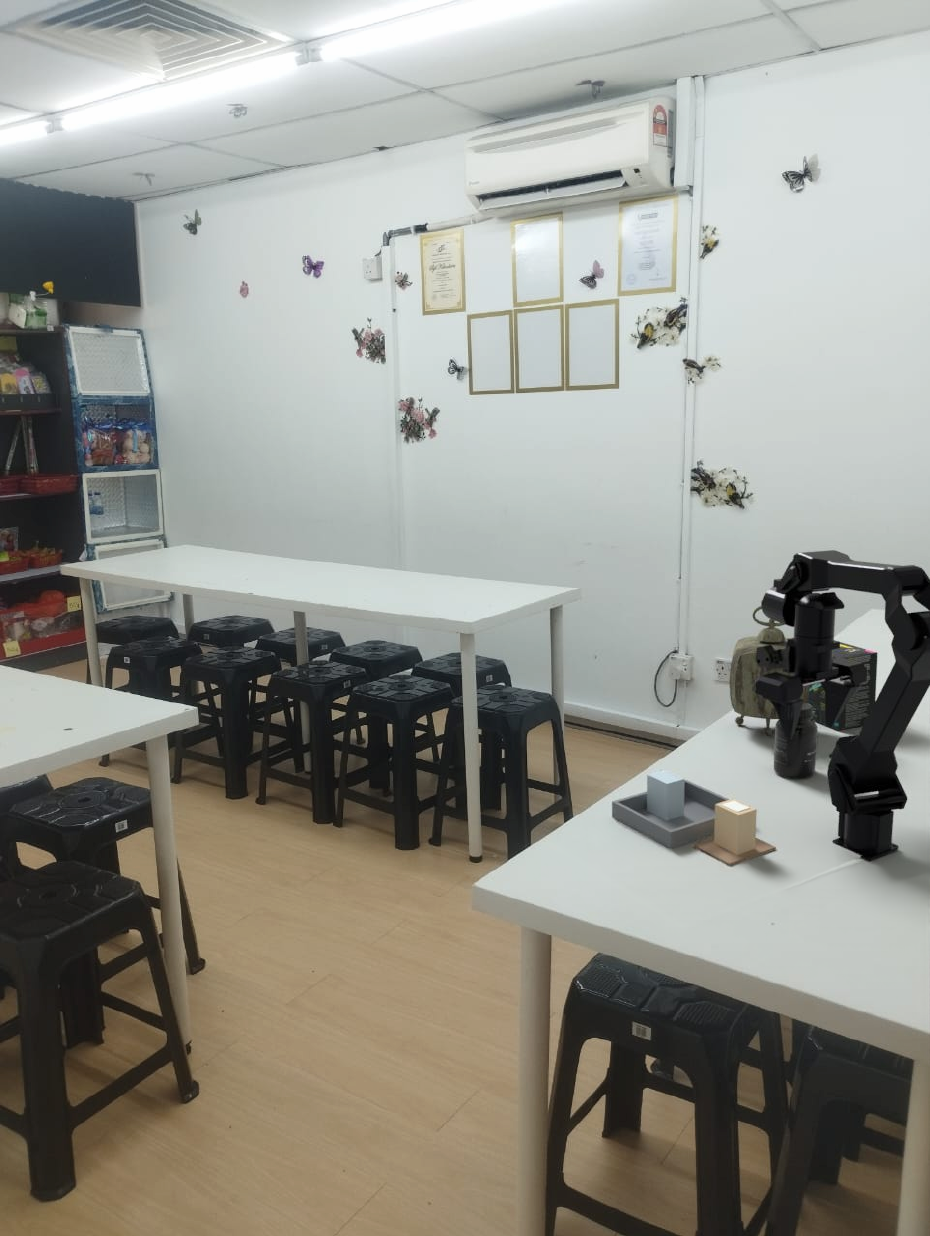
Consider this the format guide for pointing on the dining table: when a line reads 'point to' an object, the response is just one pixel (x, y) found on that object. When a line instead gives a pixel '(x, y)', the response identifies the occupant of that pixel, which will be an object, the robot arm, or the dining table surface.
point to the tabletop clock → (755, 674)
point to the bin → (674, 831)
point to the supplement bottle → (797, 747)
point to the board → (728, 856)
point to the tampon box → (860, 700)
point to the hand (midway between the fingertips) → (809, 732)
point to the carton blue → (665, 795)
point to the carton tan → (735, 826)
